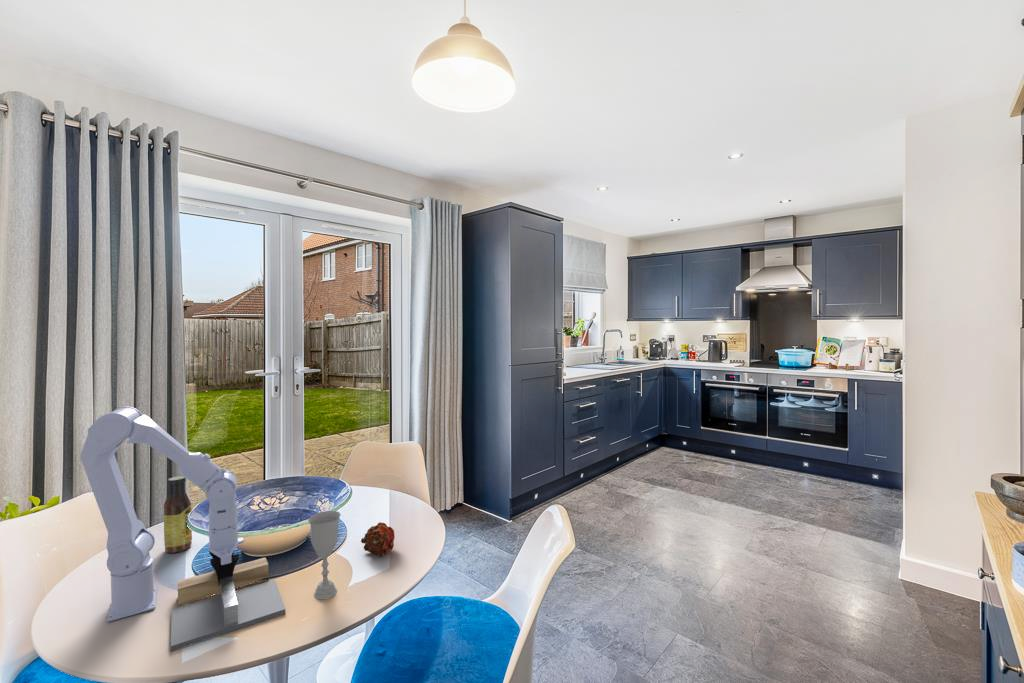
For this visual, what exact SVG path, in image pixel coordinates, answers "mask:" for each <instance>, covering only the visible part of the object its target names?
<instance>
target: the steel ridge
mask: <svg viewBox="0 0 1024 683" xmlns="http://www.w3.org/2000/svg"><path fill="white" fill-rule="evenodd" d="M235 591H236V589H235V588H234V583H233V578H232V576H230V577H227V578H223V579H220V594H219V596H220V599H221V606H222V613H223V621H224V627H227V626H230V625H233V624H237V623H238V603H237V598H236V593H235Z"/></svg>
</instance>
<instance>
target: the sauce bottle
mask: <svg viewBox="0 0 1024 683" xmlns="http://www.w3.org/2000/svg"><path fill="white" fill-rule="evenodd" d="M186 479H187V478H185V477H184V476H183V475H177V476H173V477H169V478H168V479H167V486H168V497H167V498H166V500H165V501H164V504H163V533H164V534H163V536H164V537H163V538H164V539H163V540H164V541H163V542H164V550H165V552H166V553H168V554H175V553H181V552H183V551H185V550H187V549H189V548H190V547H192V540H193V534H192V532H193V529H192V530H190V529H189V528H188V527H187V515H188V514H189V513H190V512H191V513H192V503H191V500H190V498H189V496H188V494H187V492H186V481H187V480H186Z"/></svg>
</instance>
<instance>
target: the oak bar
mask: <svg viewBox="0 0 1024 683" xmlns="http://www.w3.org/2000/svg"><path fill="white" fill-rule="evenodd" d="M266 577H268V578H269V562H268V560H267V558H266V557H261V558H258V559H255V560H251V561H247V562H243V563H239V564H236V565H235V568H234V571H233V576H232V578H233V583H234V588H237V587H240V586H244V585H246V584H250V583H253V582H255V581H258V580H261V579H263V578H266ZM244 587H245V586H244ZM237 589H238V588H237ZM217 593H220V586H219V583H218V578H217V574H216V572H215V570H214V571H213V570H212V571H210V572H207V573H202V574H199V575H195V576H192V577H188V578H187V577H186V578H184V579H180V580H177V606H178V607H181V606H184V605H187V604H191V603H193V602H195V601H196V600H197V601H200V600H203V599H206V598H205V597H207V596H210V597H212V596H211V595H213V594H217ZM217 595H218V594H217ZM202 598H203V599H202ZM207 598H208V597H207ZM199 599H200V600H199Z"/></svg>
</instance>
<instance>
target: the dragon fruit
mask: <svg viewBox="0 0 1024 683" xmlns="http://www.w3.org/2000/svg"><path fill="white" fill-rule="evenodd" d="M394 541H395V531H394V529H393V527H391V526H388V525H387V524H386V523H385V522H378V523H377V524H376V525H374V526H373V525H371V527H369V529H367V531H366V532H365V534H364V537H362V538H361V540H360V543H361V544H364V546H363V550H364V551H365V552H369V553H370V554H372V555H375V556H377V557H381V556H384V555H385V554H387V552H389V551H392V550H393V548H394V547H395V544H394Z"/></svg>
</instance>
